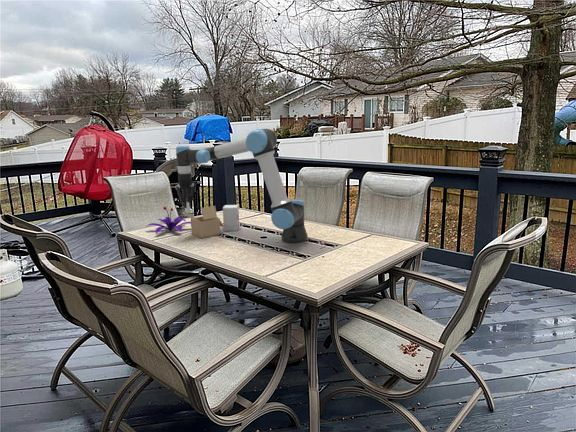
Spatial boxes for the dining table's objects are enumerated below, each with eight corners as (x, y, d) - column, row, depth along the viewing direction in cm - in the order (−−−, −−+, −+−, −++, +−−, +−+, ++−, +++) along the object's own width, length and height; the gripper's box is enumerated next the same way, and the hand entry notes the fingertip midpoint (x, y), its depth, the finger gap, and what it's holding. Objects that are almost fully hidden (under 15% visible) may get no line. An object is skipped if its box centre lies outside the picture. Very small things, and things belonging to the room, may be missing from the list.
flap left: (199, 219, 247) (189, 214, 242) (198, 220, 247) (189, 215, 242) (191, 217, 253) (182, 212, 249) (191, 218, 253) (181, 213, 249)
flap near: (217, 217, 252) (215, 205, 252) (203, 219, 247) (201, 208, 246) (216, 217, 253) (214, 205, 252) (203, 219, 247) (201, 208, 247)
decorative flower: (184, 222, 288) (182, 200, 284) (201, 232, 262) (200, 208, 259) (142, 229, 273) (140, 206, 269) (156, 239, 247) (154, 215, 244)
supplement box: (237, 231, 263) (236, 207, 260) (223, 231, 263) (222, 207, 260) (239, 227, 272) (238, 204, 268) (226, 227, 272) (224, 204, 269)
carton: (226, 233, 259) (225, 217, 256) (202, 238, 248) (201, 222, 246) (211, 228, 271) (210, 212, 269) (188, 233, 260) (187, 217, 258)
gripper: (191, 171, 249) (194, 210, 255) (171, 173, 241) (174, 213, 247) (197, 172, 244) (200, 212, 249) (177, 174, 236) (180, 215, 241)
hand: (187, 212), depth 248 cm, fingers closed
